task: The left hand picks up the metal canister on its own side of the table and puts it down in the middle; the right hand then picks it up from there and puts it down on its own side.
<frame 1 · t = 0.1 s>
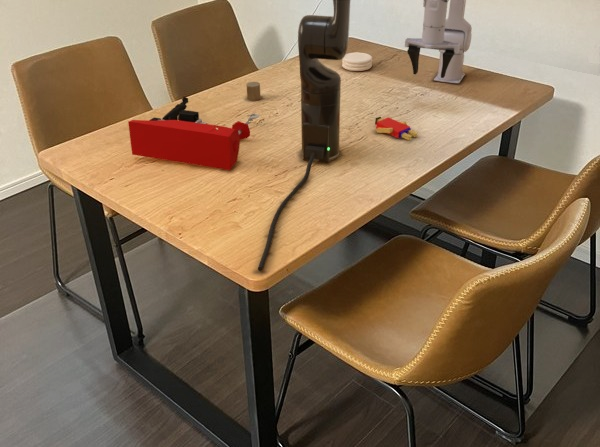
right hand: (429, 75, 171), 10 cm above the table, tool pointing down, fingers open, 7 cm apart
white ridged disc: (356, 67, 208), on the table
canister: (253, 98, 186), on the table
toy figure: (394, 132, 163), on the table
electric hoist: (204, 139, 161), on the table
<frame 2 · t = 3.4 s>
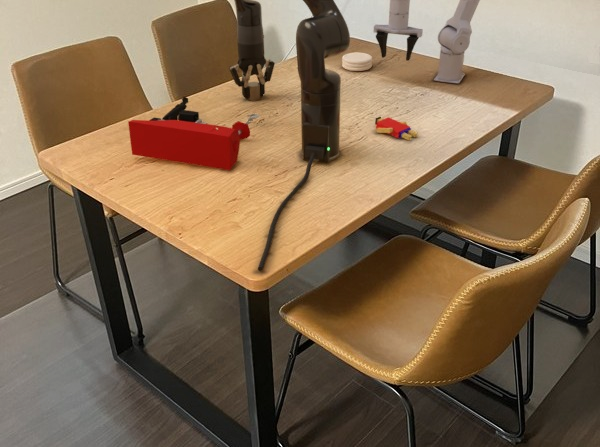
left hand: (253, 96, 185), 0 cm above the table, tool pointing down, fingers closed on canister, 4 cm apart
right hand: (395, 58, 189), 9 cm above the table, tool pointing down, fingers open, 7 cm apart
canister: (253, 98, 186), on the table, touching left hand
everything else where it was.
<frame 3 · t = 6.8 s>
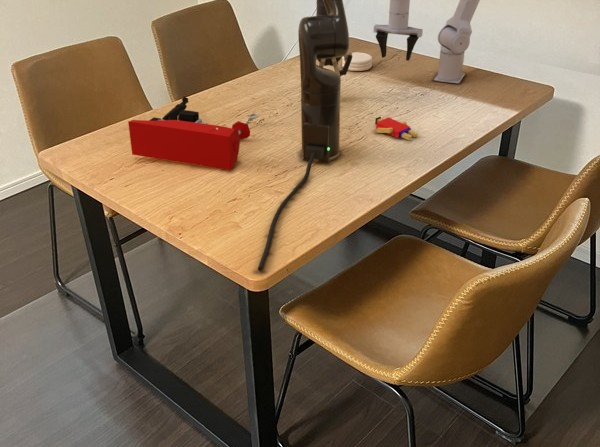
left hand: (328, 88, 181), 4 cm above the table, tool pointing down, fingers closed on canister, 4 cm apart
right hand: (395, 58, 189), 9 cm above the table, tool pointing down, fingers open, 7 cm apart
canister: (328, 89, 182), point 3 cm above the table, touching left hand
everything else where it was.
when the left hand's fingers open (1 cm above the table, at t = 10.6 s): canister drops 1 cm, on the table.
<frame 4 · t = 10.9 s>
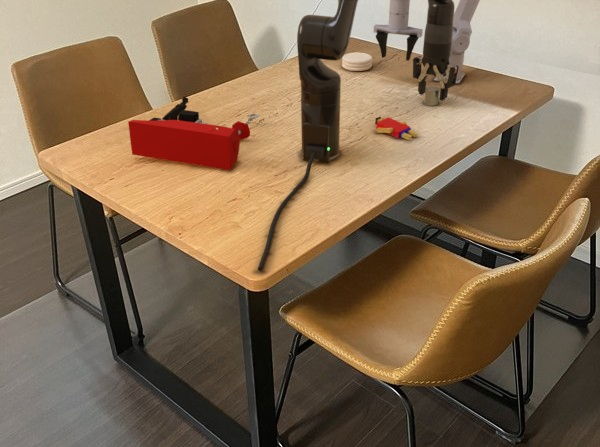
left hand: (431, 96, 179), 2 cm above the table, tool pointing down, fingers open, 6 cm apart
right hand: (395, 58, 189), 9 cm above the table, tool pointing down, fingers open, 7 cm apart
canister: (431, 103, 180), on the table
everything else where it was.
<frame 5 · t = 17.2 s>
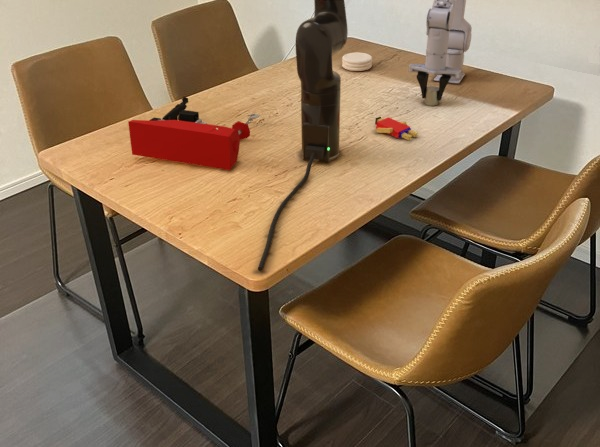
right hand: (431, 98, 180), 1 cm above the table, tool pointing down, fingers closed on canister, 4 cm apart
canister: (431, 103, 180), on the table, touching right hand
everything else where it was.
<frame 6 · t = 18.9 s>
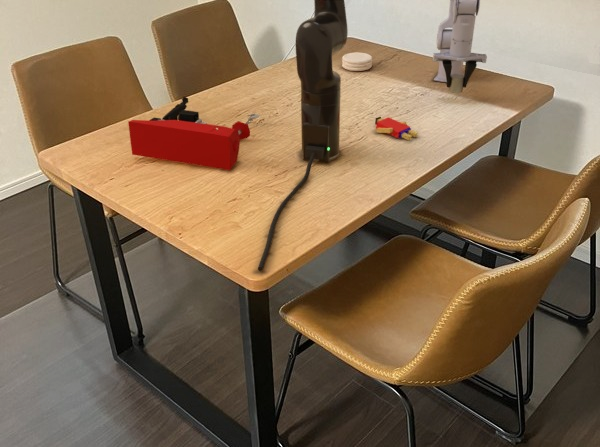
right hand: (456, 86, 178), 5 cm above the table, tool pointing down, fingers closed on canister, 4 cm apart
canister: (455, 90, 179), point 3 cm above the table, touching right hand
everything else where it was.
when the right hand's fingers open (2 cm above the table, at t = 20.8 s): canister drops 1 cm, on the table.
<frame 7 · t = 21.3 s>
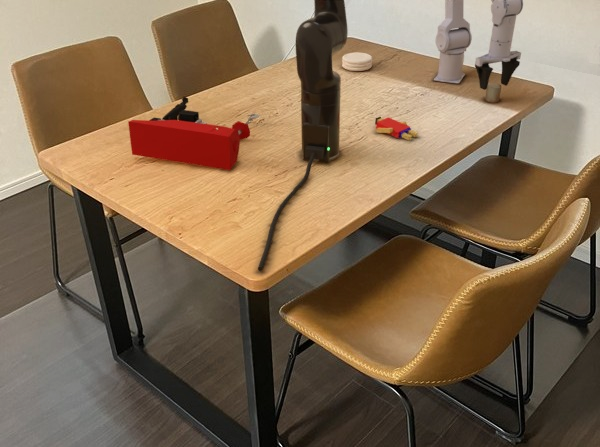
right hand: (493, 86, 180), 4 cm above the table, tool pointing down, fingers open, 7 cm apart
canister: (491, 100, 182), on the table
everything else where it was.
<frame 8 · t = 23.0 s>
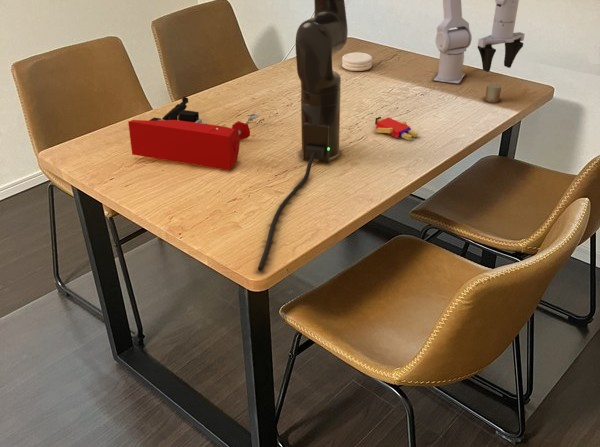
right hand: (496, 68, 177), 9 cm above the table, tool pointing down, fingers open, 7 cm apart
nothing on the table moved.
at the end: canister inside the target area (0.1 cm from its centre), on the table; canister tilted 0°; the two hands never held the canister at the same time; the left hand is holding nothing; the right hand is holding nothing; canister at rest at the end (0.0 cm/s) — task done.
